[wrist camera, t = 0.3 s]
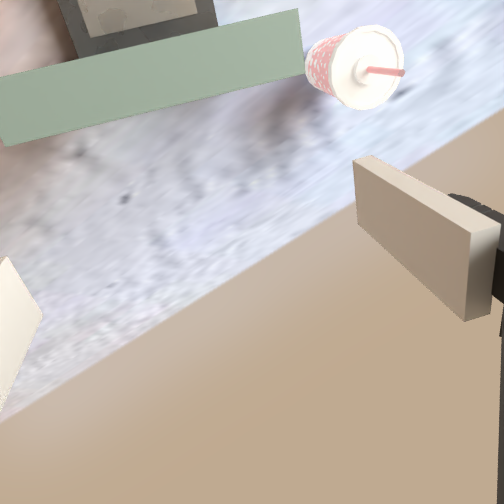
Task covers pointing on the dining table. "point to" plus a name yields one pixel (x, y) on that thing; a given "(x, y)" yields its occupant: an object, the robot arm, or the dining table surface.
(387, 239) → the robot arm
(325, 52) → the beverage cup
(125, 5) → the plate
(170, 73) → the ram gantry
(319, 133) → the dining table surface
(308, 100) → the dining table surface
